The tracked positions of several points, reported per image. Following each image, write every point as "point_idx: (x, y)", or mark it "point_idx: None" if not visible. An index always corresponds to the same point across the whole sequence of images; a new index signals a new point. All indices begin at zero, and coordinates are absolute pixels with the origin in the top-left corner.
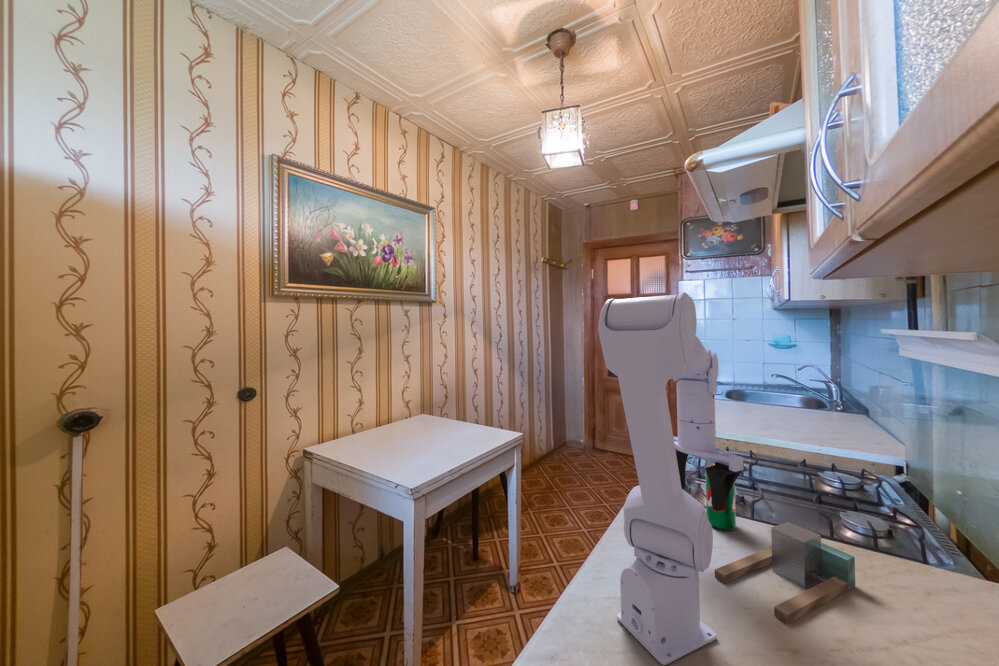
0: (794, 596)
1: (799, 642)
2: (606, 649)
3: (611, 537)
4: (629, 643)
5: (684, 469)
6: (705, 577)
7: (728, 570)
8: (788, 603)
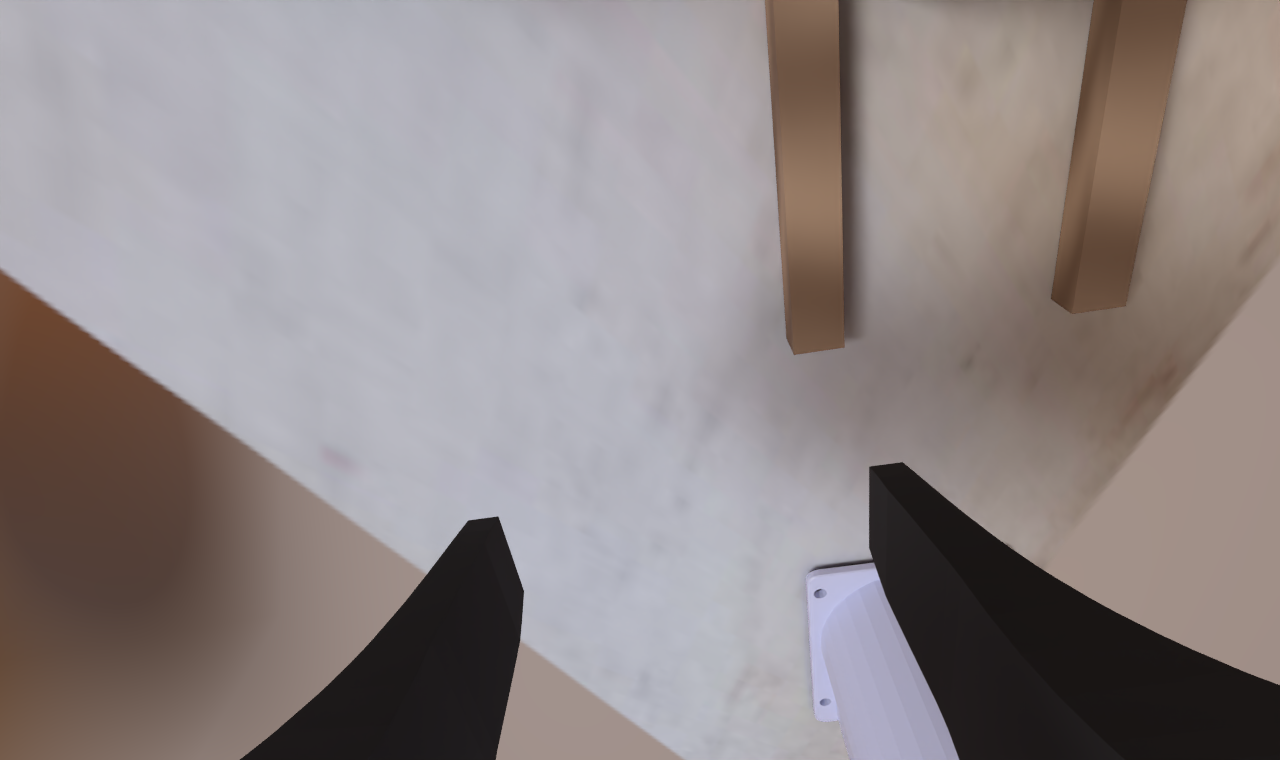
0: (1098, 163)
1: (1161, 329)
2: None
3: (404, 555)
4: None
5: (432, 664)
6: (771, 375)
7: (827, 301)
8: (1098, 235)
